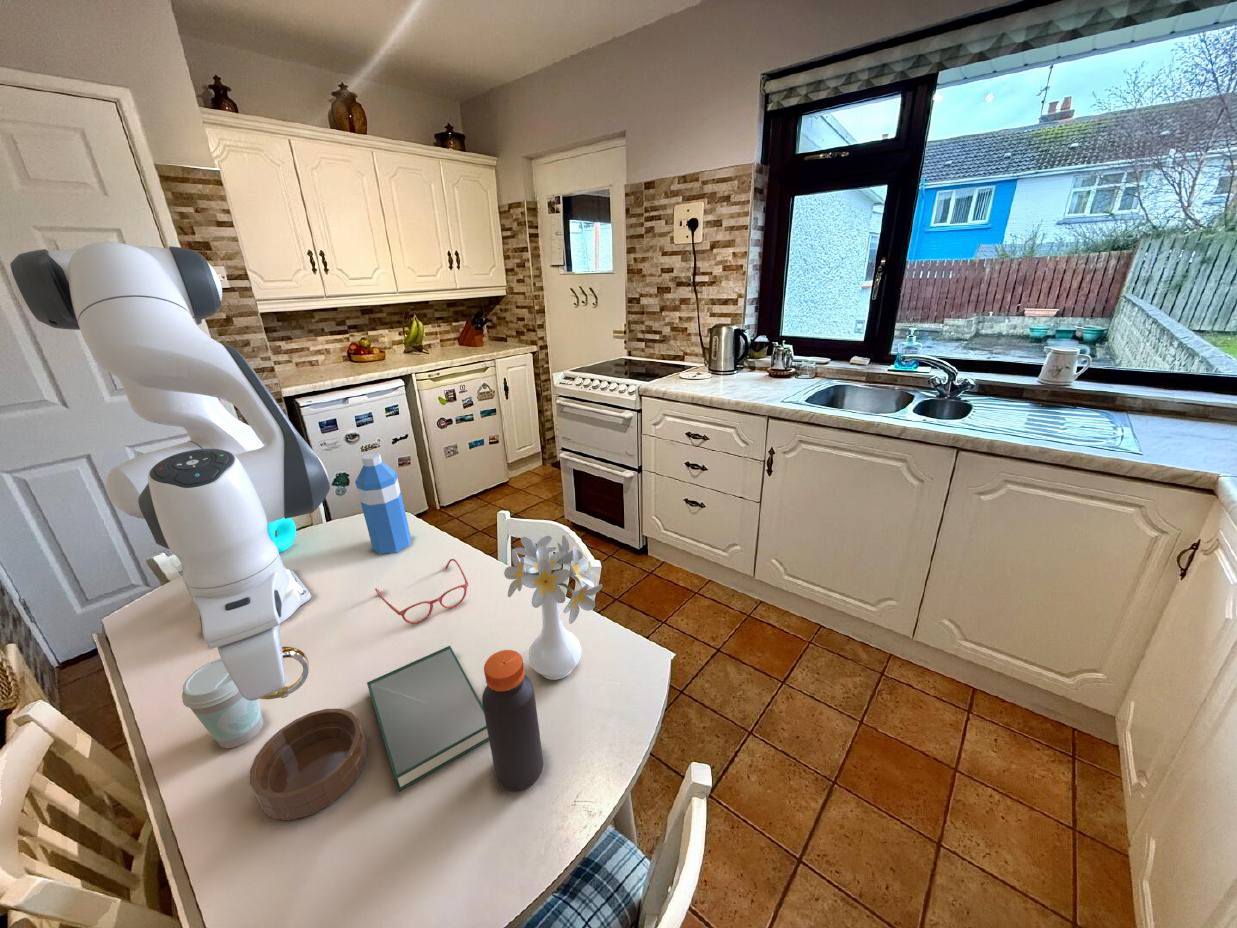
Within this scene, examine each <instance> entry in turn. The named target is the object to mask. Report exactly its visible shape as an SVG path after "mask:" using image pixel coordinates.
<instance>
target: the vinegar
mask: <svg viewBox="0 0 1237 928" xmlns="http://www.w3.org/2000/svg"><path fill="white" fill-rule="evenodd" d="M524 665H525V664H524V659H523V656H522V654H521V653H519V652H518V651H516V650H513V649H504V650H503V649H502V650H499V651H497V652H495V653H493V654H491V655H490V656H489V657H488V658H487V659H486V661H485V662H484V665H483V672H484V677H485V683H486V686H485V687H484V690H483V692H482V695H481V704H482V706H483V710H484V716H485V721H486V726H487V732H488V737H489V740H488V742H489V747H490V753H491V759H492V764H493V769H494V773H495V777H496V780H497V782H498V784H499V785H500V786H501V787H502V788H503V789H505V790H508V791H512V792H513V791H515V792H518V791H523V790H527V788H530V787H531V786H533V785H534V784H535V782H536V781H538V779H539V778H540V776H541V774H542V773H543V768H544V757H543V750H542V741H541V734H540V726H539V720H538V717H539V716H538V710H537V703H536V696H535V695H536V694H535V687H534V683H533V682H532V680H531V678H530V677H528V676H527V675H526V674H525V666H524Z"/></svg>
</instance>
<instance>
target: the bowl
mask: <svg viewBox="0 0 1237 928" xmlns="http://www.w3.org/2000/svg"><path fill="white" fill-rule="evenodd" d="M367 755H368V745H367V740H366V738H365V735H364V731H363V729H362V726H361V722H360V720H359V718H358V717H357V716H356V715H355V714H354V713H353V712H352V711H349V710H346V709H344V708H324V709H319V710H316V711H311V712H309V713H306V714H305V715H303V716H300V717H297V718H295V719H294V720H293V721H291V722H289V723H288V724H286V725H285V726H283V727H281V728H280V729H279V730H278V731H276V733H275V734H274V735H273V736H271V737H270V738H269V739H268V740H267V741H266V742H264V744H263V746H262V747H261V749H260V750H259V751H258V752H257V753H256V755H255V757H254V759H253V761H252V764H251V766H250V769H249V785H250V787H251V790H252V792H253V794H254V796H255V798H256V800H257V801H258V804H259V806H260V808H261V809H262V810H263V812H264V814H265V815H267V816H269V817H271V818H273V819H275V820H279V821H281V820H282V821H286V820H297V819H301V818H304V817H307V816H308V817H309V816H311V815H313V814H316V813H317V812H319V811H321V810H322V809H325V808H326V807H328V806H330V805H332V804H333V802H335V801H337V799H339V798H340V797H341V796H342V795H343V794H344V793H346V792H347V791H348V790H349V789H350V787H352V785H353V784H354V782H356V780H357V779H358V778H359V776H360V774H361V773H362V770H363V768H364V766H365V764H366V762H367V761H366V760H367V757H368V756H367Z"/></svg>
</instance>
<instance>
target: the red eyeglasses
mask: <svg viewBox="0 0 1237 928" xmlns="http://www.w3.org/2000/svg"><path fill="white" fill-rule="evenodd" d="M451 562H454V563H455V565H457V567H458V569H459V570H460V573H461V575H462V577H463V579H464V584H460V585H457V586H455V587H452V588H450V589H448V590H447V591H445V592H444V593H442V594H441V595H440V596H439V597H437V598H435V599H431V600H424V601H420V602H416V603H414V604H412V605H410V606H408V607H405V608H404V609H402V610H398V609H397V608H396V607H395V606H393V605H392V604H391V603H389V601H387V600H386V599H385V598H384V597H383V593H382V592H381V591H380V590H379V589H378V588H377V587H376V588H374V590H375V592H376V594H377V595H378V597H379V598H380V599H381V600H382V601H383V602H384V603H385V604H386V605H387V606H388V607H389V608H390V609H391V610H392V611H393V612H395V613H396V614H397V615H398V616H401V617H402V619H403V621H404V622H406V623H407V624H411V625H417V624H420V623H422V622H425V621H426V620H427V619H428V618H429V617H430V616H431V614H432V612H433V610H434V604H436V603H439V604H440V606H441V607H443V608H444V609H449V610H450V609H454V608H456V607H457V606H458V607H459V605H460V604H461V603H462V602H464V600H465V598H466V597H467V596H466V595H467V592H468V586H469V581H468V579H467V577H466V575H465V572H464V571H463V569H462V567H461V566H460V564H459V562H458V561H457V560H456V559H455V558H451V559H449V560H448V562H447V563H446V565H445V570H448V569H449V566H450V563H451ZM460 588H463V595H462V597H461V598H460V600H459V601H458V602H457V603H456V604H454V605H450V606H447V605H445V604H443V598H444V597H445V596H446V595H447V594H449V593H450V592H453V591H455V590H457V589H460ZM423 604H428V605H429V611H428V613H427V614H426V615H425V616H424V618H422V619H420V620H418V621H410V620H408V619H407V618H406V616H405V615H406V613H407V611H409V610H410V609H412V608H414V607H416V606H420V605H423Z"/></svg>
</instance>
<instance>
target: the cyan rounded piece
mask: <svg viewBox="0 0 1237 928" xmlns="http://www.w3.org/2000/svg"><path fill="white" fill-rule="evenodd" d="M267 532H268V535H269V537H270V539H271V540H272V542H273V543H274V544H275V545H276V547H277V549H278V552H279V554H281V553H284V552H285V551H287V550H288V549H290V547H291V546H292V545H293V543H294V541H295V539H296V535H297V527H296V523H295V521H294V520H293V518H292V517H291V518H287V519H285V518H283V519H279V520H276V521H273V522H270V523H267Z"/></svg>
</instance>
